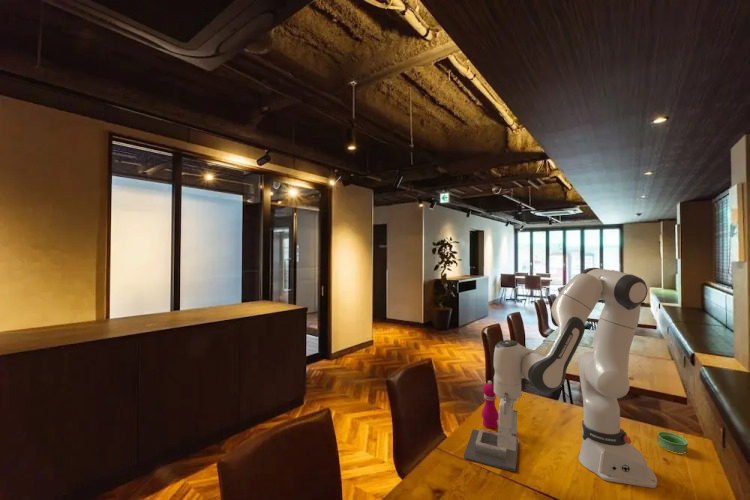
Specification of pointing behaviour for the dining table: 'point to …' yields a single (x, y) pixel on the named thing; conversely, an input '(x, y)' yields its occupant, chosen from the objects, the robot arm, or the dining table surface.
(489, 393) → the pepper mill
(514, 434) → the skincare box
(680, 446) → the ramekin
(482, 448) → the ring block
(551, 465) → the dining table surface
